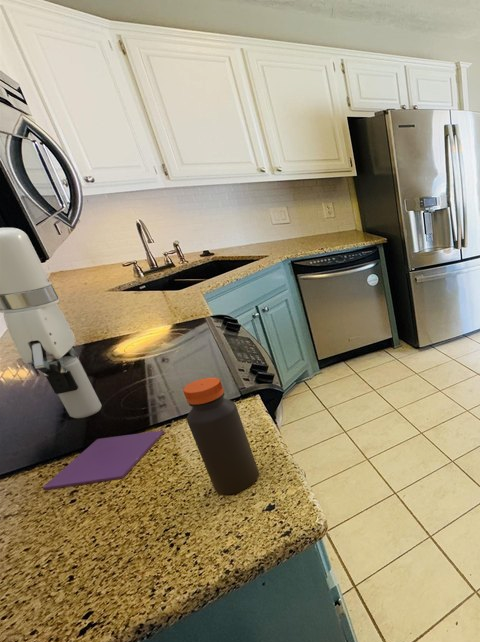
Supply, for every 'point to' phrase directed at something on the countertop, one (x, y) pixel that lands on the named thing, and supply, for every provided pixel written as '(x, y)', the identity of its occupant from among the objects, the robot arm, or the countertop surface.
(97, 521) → the countertop surface
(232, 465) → the bottle
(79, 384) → the beverage can
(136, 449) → the cloth
